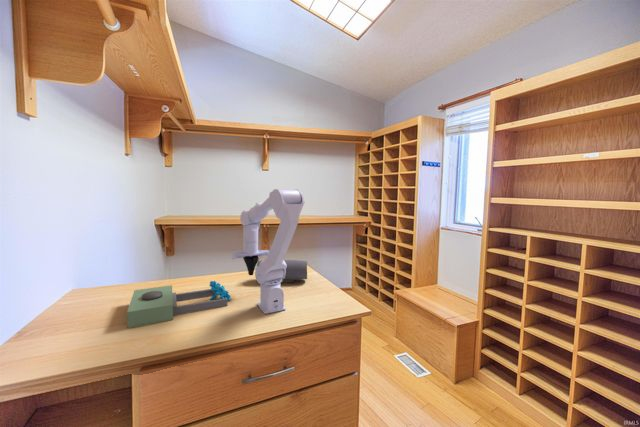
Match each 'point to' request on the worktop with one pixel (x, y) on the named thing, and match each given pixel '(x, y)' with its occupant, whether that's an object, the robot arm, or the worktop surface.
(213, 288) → the gear
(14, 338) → the worktop surface
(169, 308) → the green block with rails
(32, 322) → the worktop surface
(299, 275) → the bluetooth speaker
